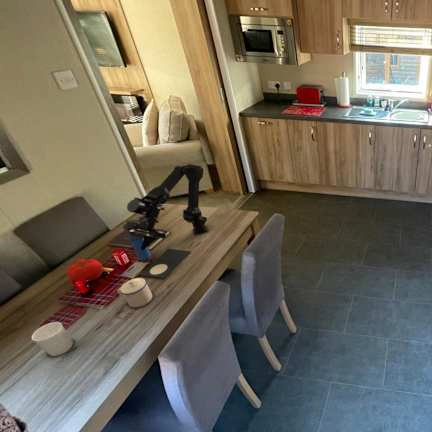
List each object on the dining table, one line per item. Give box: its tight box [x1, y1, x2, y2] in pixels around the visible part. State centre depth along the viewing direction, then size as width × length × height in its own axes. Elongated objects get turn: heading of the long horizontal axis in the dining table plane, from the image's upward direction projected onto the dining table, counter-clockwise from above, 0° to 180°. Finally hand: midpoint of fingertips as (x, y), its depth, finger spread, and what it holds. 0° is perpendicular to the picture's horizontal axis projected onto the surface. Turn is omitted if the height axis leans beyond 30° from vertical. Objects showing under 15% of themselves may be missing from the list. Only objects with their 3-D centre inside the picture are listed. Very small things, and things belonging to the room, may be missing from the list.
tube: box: [128, 233, 153, 262], centre depth 145 cm, size 5×5×13 cm
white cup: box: [31, 321, 74, 357], centre depth 113 cm, size 8×8×10 cm
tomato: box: [66, 258, 104, 282], centre depth 143 cm, size 11×12×9 cm
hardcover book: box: [107, 227, 171, 251], centre depth 170 cm, size 16×23×2 cm
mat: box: [139, 248, 191, 280], centre depth 156 cm, size 20×12×1 cm, turn 174°
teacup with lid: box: [117, 277, 153, 308], centre depth 133 cm, size 12×9×12 cm
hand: (137, 248), depth 144 cm, fingers closed on tube, 5 cm apart
